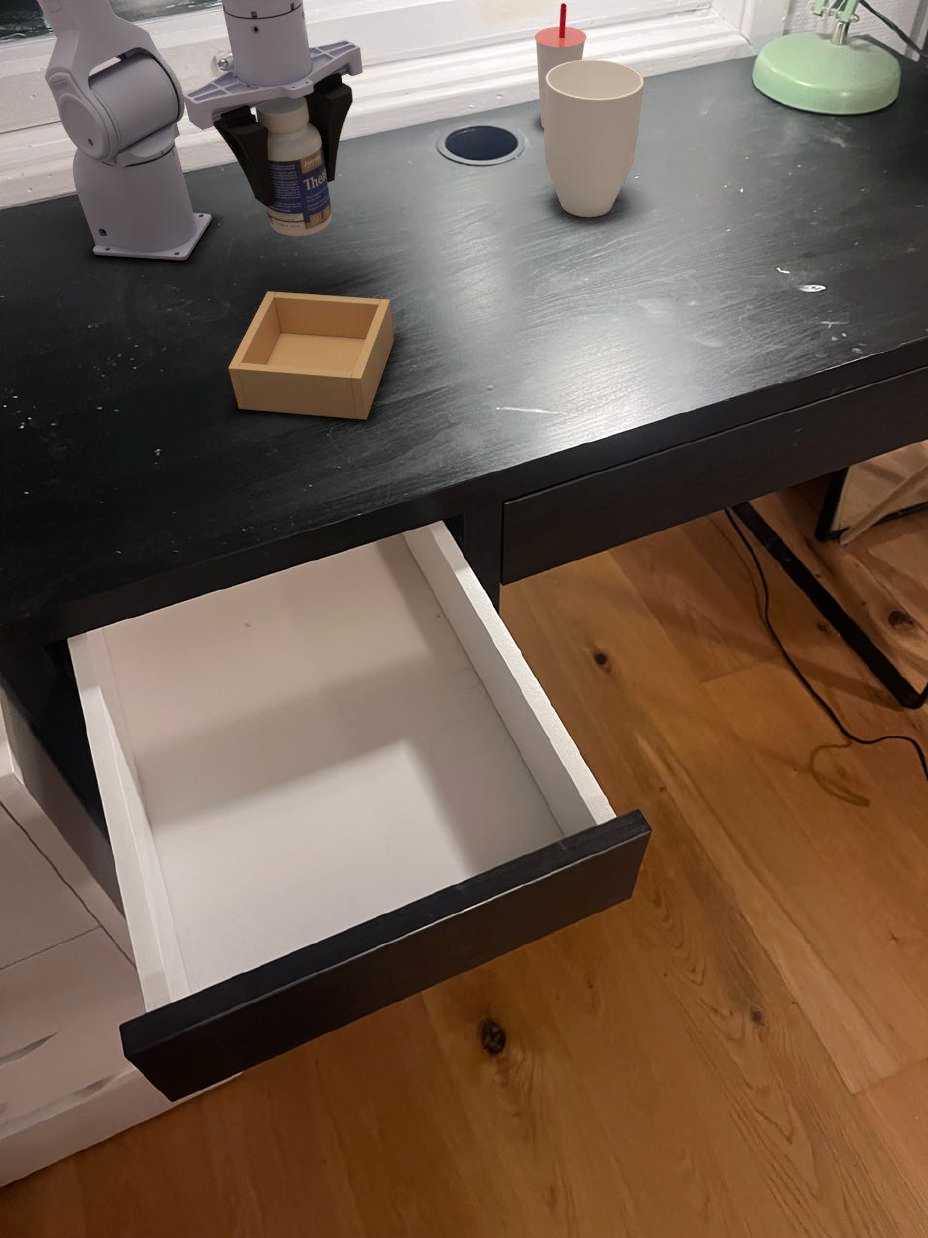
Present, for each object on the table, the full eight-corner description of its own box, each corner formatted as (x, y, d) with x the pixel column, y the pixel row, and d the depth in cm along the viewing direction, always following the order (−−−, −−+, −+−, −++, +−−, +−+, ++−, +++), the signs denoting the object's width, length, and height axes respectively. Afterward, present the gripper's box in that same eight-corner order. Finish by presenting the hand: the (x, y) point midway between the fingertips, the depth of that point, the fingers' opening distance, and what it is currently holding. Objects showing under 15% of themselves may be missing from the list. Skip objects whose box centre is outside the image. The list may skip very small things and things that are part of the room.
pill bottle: (323, 241, 79) (303, 119, 72) (261, 236, 80) (236, 116, 73) (340, 207, 83) (324, 88, 75) (281, 203, 83) (259, 85, 76)
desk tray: (238, 408, 77) (227, 367, 74) (275, 331, 84) (267, 290, 80) (366, 419, 76) (360, 378, 73) (394, 340, 82) (390, 299, 79)
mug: (645, 218, 94) (661, 88, 84) (561, 235, 92) (568, 105, 83) (596, 164, 101) (606, 39, 91) (518, 180, 99) (520, 54, 90)
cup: (578, 136, 105) (586, 13, 95) (529, 134, 105) (532, 12, 96) (582, 114, 108) (590, -7, 99) (535, 112, 109) (538, -8, 99)
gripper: (201, 48, 64) (244, 239, 74) (377, -8, 69) (394, 177, 80) (152, 19, 67) (199, 205, 78) (323, -33, 73) (346, 147, 83)
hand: (294, 189), depth 79 cm, fingers closed on pill bottle, 5 cm apart
